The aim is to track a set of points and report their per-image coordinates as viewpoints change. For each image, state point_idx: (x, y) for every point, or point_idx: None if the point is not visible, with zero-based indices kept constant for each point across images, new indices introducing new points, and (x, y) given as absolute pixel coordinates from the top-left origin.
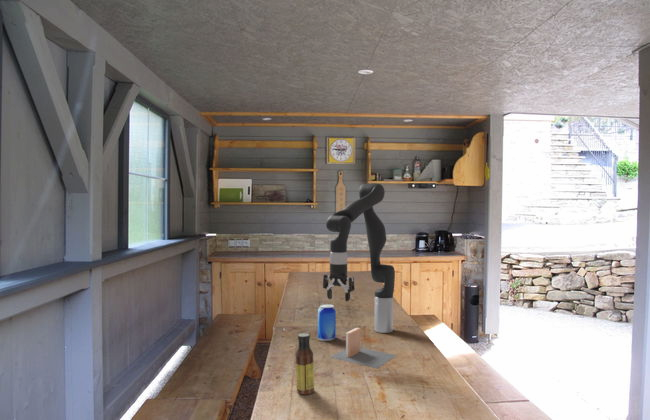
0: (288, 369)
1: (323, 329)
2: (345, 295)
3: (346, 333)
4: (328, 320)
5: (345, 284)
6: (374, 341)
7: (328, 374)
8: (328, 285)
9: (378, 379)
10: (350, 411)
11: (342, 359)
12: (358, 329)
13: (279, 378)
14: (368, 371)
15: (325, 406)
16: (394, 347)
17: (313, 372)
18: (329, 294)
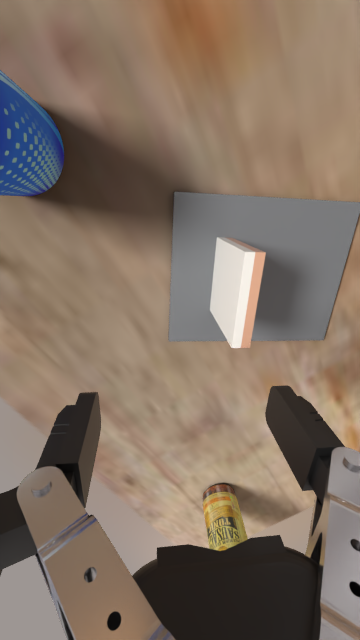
0: (119, 445)
1: (13, 194)
2: (291, 463)
3: (232, 346)
4: (15, 179)
5: (341, 553)
6: (233, 39)
7: (218, 419)
8: (53, 599)
9: (333, 384)
10: (314, 499)
11: (211, 336)
12: (262, 272)
13: (137, 482)
14: (300, 358)
15: (272, 507)
16: (338, 88)
17: (245, 531)
18: (93, 464)
